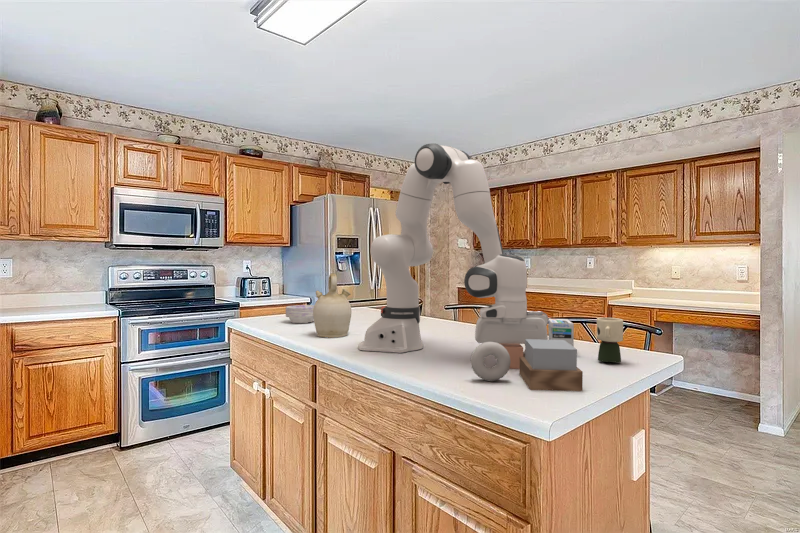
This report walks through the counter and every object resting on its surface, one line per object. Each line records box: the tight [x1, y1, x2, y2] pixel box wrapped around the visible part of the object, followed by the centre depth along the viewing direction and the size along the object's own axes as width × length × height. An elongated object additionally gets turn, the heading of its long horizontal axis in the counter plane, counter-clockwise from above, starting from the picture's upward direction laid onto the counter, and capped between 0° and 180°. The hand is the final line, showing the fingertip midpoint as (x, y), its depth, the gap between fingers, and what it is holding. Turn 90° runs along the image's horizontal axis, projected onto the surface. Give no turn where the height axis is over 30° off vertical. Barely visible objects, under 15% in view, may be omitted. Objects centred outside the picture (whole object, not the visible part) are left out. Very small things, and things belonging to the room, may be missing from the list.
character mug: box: [596, 317, 624, 364], centre depth 133 cm, size 11×7×13 cm, turn 147°
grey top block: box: [524, 339, 578, 371], centre depth 112 cm, size 10×12×5 cm
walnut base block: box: [518, 357, 584, 392], centre depth 112 cm, size 12×14×5 cm
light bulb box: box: [547, 317, 575, 348], centre depth 146 cm, size 11×7×11 cm, turn 168°
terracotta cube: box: [498, 343, 524, 370], centre depth 129 cm, size 6×6×6 cm
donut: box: [470, 342, 511, 382], centre depth 113 cm, size 10×4×10 cm, turn 87°
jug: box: [313, 272, 352, 339], centre depth 180 cm, size 15×16×25 cm
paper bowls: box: [285, 304, 315, 324], centre depth 216 cm, size 15×15×8 cm
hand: (510, 358), depth 129 cm, fingers closed on terracotta cube, 6 cm apart
